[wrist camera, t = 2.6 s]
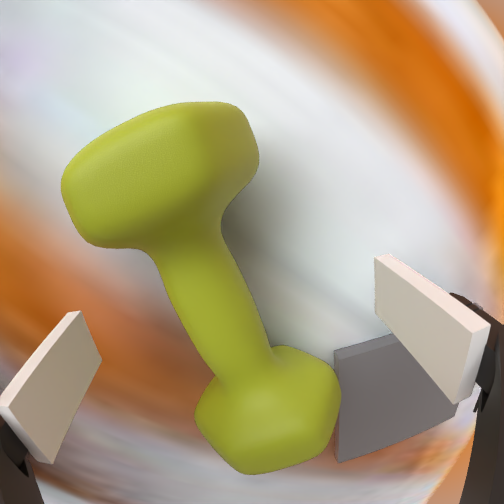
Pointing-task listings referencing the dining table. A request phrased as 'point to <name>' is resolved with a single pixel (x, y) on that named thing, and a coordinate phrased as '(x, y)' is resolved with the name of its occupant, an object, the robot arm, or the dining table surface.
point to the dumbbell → (205, 274)
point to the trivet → (384, 397)
